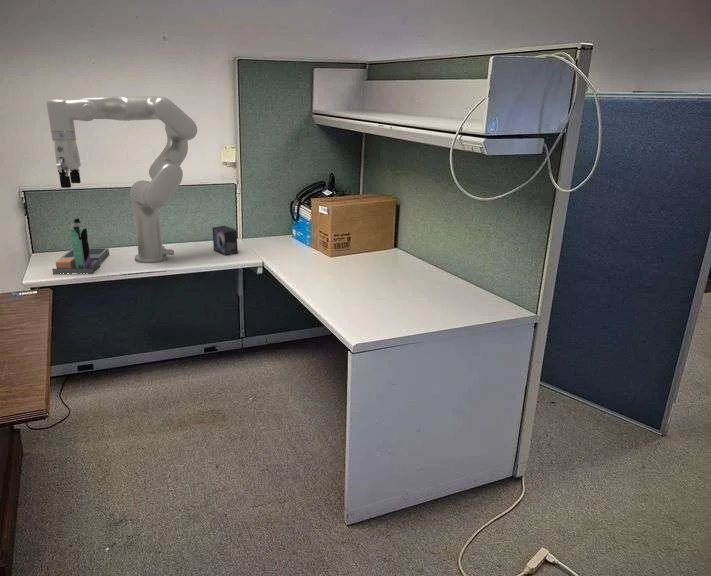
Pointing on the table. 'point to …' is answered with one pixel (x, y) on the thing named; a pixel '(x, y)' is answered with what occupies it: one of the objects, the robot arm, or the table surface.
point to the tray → (92, 254)
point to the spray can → (80, 244)
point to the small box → (225, 240)
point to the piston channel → (79, 269)
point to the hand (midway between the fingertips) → (71, 185)
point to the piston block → (65, 263)
